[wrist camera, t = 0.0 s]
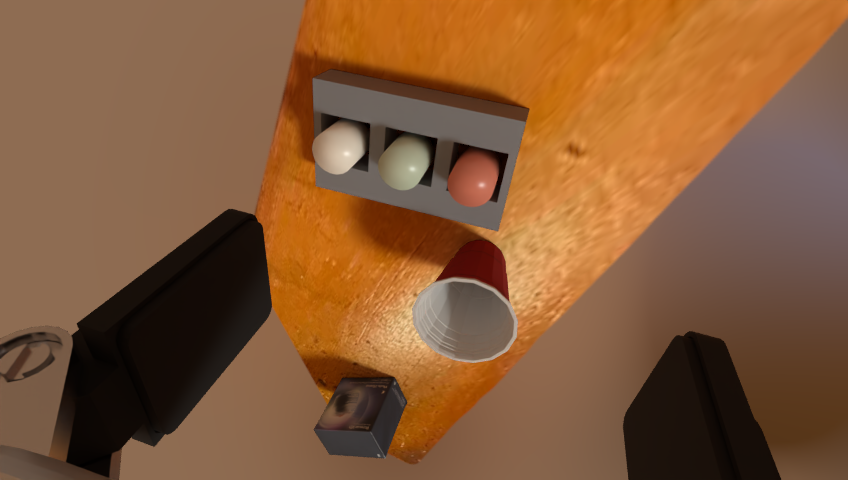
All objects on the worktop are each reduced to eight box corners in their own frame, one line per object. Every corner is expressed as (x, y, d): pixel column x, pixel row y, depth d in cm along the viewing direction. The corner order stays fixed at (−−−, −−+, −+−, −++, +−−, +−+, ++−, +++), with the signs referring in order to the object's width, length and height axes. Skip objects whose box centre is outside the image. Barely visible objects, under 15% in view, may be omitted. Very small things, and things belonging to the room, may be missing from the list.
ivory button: (333, 113, 47) (311, 128, 43) (372, 121, 46) (353, 137, 42) (333, 151, 49) (312, 169, 45) (370, 160, 48) (352, 178, 45)
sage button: (395, 126, 45) (379, 143, 42) (436, 135, 45) (423, 153, 41) (392, 165, 48) (376, 184, 44) (431, 174, 47) (418, 194, 43)
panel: (330, 68, 46) (312, 78, 43) (529, 108, 43) (525, 121, 40) (331, 171, 53) (315, 186, 50) (502, 213, 50) (497, 231, 47)
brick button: (461, 141, 44) (451, 159, 40) (504, 150, 44) (498, 170, 40) (454, 180, 47) (444, 200, 43) (495, 189, 46) (488, 211, 42)
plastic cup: (547, 254, 51) (540, 325, 42) (493, 306, 58) (477, 378, 48) (470, 202, 50) (445, 263, 41) (424, 261, 57) (393, 325, 47)
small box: (394, 374, 71) (370, 432, 63) (408, 401, 74) (387, 460, 65) (340, 376, 75) (311, 430, 67) (355, 401, 78) (329, 456, 70)
